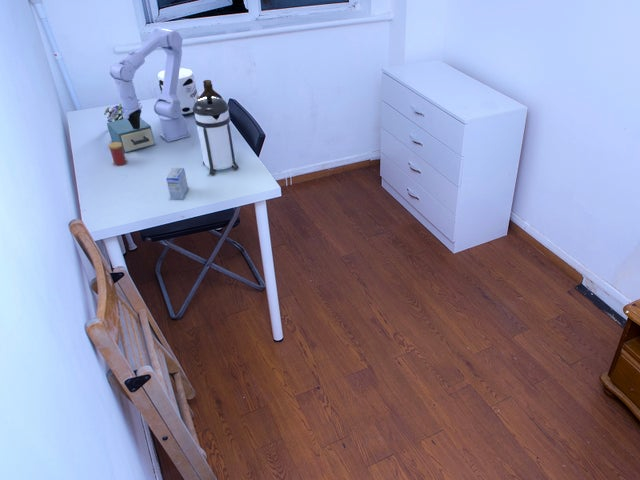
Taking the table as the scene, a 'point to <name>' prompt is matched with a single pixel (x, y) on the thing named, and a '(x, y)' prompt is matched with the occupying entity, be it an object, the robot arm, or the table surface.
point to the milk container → (183, 90)
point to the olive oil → (209, 90)
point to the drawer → (137, 139)
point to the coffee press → (215, 133)
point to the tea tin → (117, 153)
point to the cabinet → (125, 130)
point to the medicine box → (177, 183)
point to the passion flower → (114, 113)
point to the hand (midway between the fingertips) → (136, 128)
